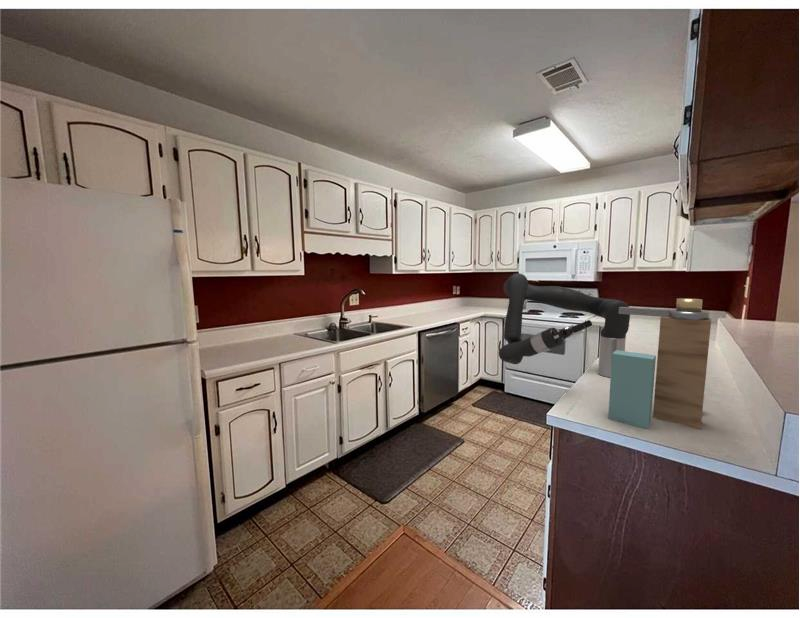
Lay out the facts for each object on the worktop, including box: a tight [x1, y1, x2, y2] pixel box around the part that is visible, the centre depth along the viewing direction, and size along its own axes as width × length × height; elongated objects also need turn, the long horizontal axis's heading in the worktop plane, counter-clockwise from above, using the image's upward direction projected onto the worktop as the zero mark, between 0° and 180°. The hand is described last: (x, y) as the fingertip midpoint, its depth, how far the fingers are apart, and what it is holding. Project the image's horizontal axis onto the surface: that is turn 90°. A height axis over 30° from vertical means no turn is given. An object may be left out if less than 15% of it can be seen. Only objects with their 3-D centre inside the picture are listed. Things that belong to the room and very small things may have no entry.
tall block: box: [607, 350, 657, 430], centre depth 98 cm, size 6×10×21 cm, turn 45°
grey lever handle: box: [618, 297, 711, 320], centre depth 98 cm, size 9×22×6 cm, turn 45°
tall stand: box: [652, 317, 712, 430], centre depth 97 cm, size 6×11×32 cm, turn 45°
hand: (587, 323), depth 113 cm, fingers open, 8 cm apart
